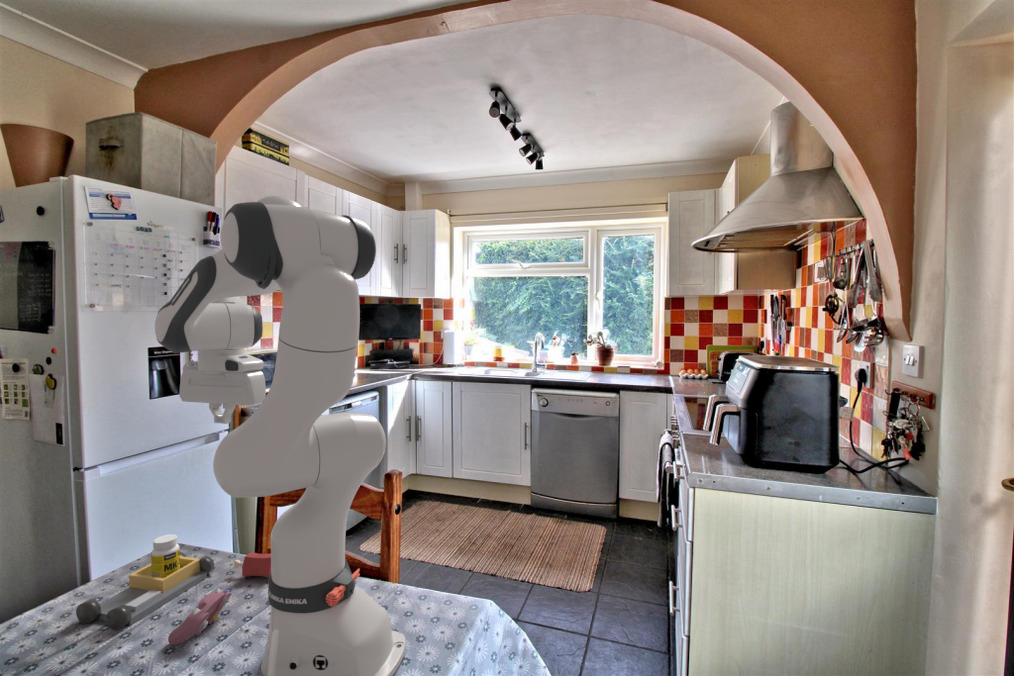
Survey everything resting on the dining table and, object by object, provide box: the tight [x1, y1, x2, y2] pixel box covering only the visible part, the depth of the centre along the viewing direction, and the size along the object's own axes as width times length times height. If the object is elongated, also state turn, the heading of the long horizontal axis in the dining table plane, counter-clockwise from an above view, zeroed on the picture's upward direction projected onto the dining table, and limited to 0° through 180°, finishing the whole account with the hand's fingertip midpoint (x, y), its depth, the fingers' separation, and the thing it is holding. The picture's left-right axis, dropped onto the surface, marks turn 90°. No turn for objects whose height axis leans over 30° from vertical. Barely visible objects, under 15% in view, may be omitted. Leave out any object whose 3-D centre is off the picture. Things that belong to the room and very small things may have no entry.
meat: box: [233, 551, 271, 578], centre depth 100 cm, size 12×5×5 cm, turn 87°
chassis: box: [75, 551, 215, 631], centre depth 93 cm, size 11×19×4 cm, turn 167°
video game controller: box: [167, 587, 232, 646], centre depth 83 cm, size 10×5×7 cm, turn 178°
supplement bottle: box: [150, 533, 181, 578], centre depth 97 cm, size 5×5×8 cm
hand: (222, 423), depth 106 cm, fingers closed
